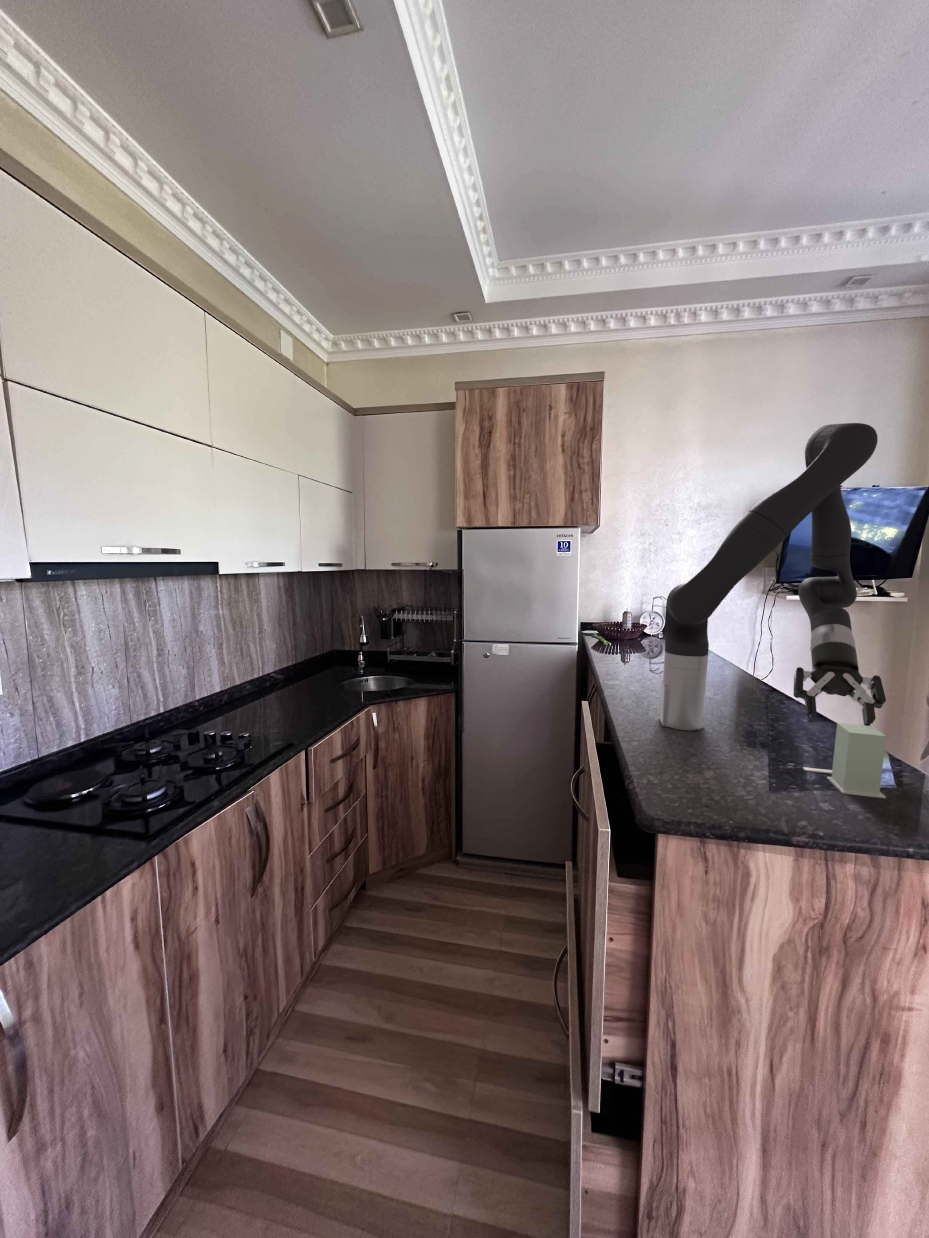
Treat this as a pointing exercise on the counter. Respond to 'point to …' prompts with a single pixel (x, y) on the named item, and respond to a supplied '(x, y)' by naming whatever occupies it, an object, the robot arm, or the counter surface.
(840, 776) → the sage block
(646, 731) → the counter surface
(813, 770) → the pale grey thin rod
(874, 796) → the mat
